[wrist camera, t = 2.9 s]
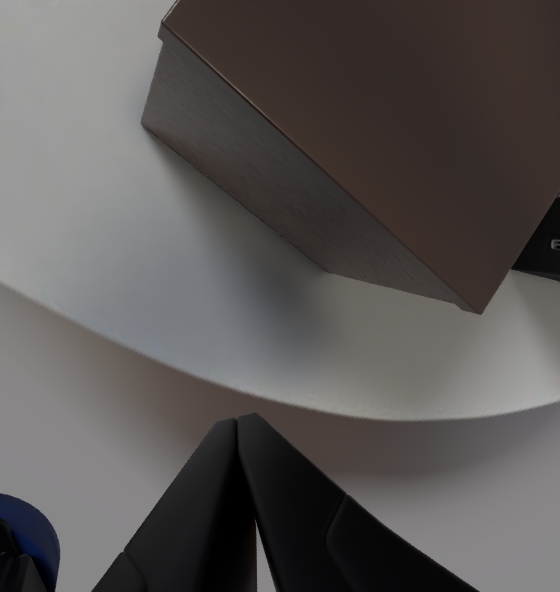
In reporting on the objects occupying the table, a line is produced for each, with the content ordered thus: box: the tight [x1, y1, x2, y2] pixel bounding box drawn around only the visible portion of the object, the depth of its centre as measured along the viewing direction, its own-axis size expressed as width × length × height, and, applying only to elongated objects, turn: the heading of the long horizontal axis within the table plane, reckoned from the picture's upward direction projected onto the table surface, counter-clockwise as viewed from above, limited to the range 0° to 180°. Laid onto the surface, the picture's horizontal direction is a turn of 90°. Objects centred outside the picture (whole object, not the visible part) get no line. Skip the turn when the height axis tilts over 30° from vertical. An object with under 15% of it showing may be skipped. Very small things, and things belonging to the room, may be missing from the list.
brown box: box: [141, 0, 560, 315], centre depth 16 cm, size 18×11×10 cm, turn 143°
